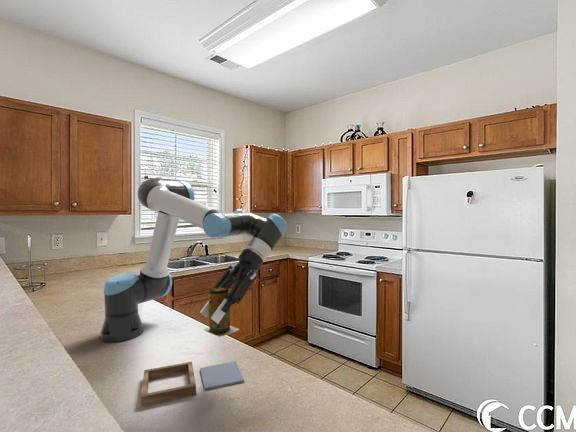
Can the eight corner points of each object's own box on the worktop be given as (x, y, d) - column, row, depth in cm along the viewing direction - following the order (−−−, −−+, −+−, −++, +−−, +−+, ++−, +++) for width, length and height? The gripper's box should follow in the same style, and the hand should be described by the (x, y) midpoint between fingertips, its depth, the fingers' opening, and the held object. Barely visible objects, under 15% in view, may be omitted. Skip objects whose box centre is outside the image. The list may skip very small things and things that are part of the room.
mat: (200, 369, 97) (200, 367, 97) (235, 363, 101) (235, 361, 101) (204, 390, 86) (204, 388, 86) (244, 381, 90) (244, 379, 90)
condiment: (223, 323, 98) (222, 284, 98) (240, 330, 92) (239, 289, 92) (202, 330, 93) (201, 289, 92) (219, 338, 87) (218, 294, 87)
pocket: (144, 378, 93) (144, 370, 93) (192, 369, 97) (191, 361, 97) (140, 407, 79) (140, 397, 79) (196, 394, 84) (196, 385, 84)
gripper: (279, 266, 96) (234, 334, 85) (245, 259, 110) (202, 316, 100) (265, 250, 92) (216, 319, 82) (231, 245, 106) (185, 303, 96)
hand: (208, 317), depth 91 cm, fingers closed on condiment, 6 cm apart
